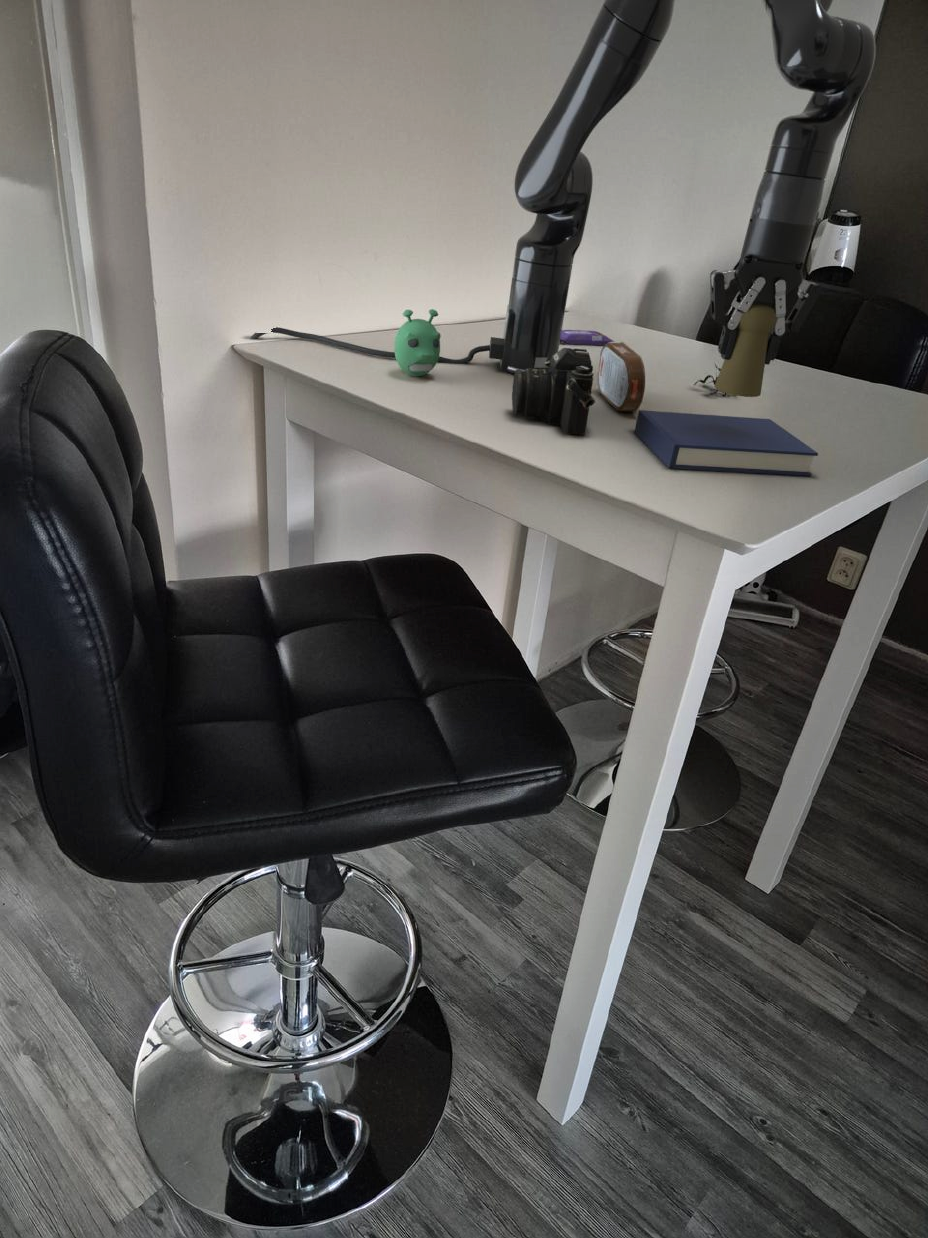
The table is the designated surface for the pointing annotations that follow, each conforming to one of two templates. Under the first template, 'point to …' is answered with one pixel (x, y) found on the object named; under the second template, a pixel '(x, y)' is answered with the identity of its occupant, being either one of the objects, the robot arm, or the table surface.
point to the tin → (621, 377)
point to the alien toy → (417, 345)
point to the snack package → (584, 337)
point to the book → (723, 443)
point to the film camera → (557, 391)
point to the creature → (710, 382)
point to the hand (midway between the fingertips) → (744, 359)
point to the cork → (748, 353)
